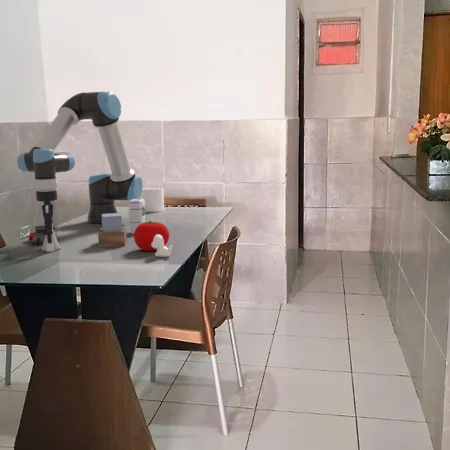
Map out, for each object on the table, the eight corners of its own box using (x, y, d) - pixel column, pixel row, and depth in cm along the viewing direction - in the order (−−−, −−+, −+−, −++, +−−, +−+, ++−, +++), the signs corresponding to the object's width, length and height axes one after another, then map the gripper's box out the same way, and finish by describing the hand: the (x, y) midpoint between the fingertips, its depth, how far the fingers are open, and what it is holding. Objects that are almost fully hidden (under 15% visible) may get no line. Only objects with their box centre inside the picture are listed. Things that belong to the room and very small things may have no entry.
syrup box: (142, 233, 241) (140, 200, 238) (129, 233, 242) (127, 200, 239) (147, 231, 246) (145, 198, 243) (134, 231, 247) (132, 198, 245)
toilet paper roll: (162, 212, 298) (161, 189, 296) (140, 212, 298) (139, 190, 296) (165, 208, 309) (164, 187, 307) (144, 209, 310) (143, 187, 307)
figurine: (153, 254, 202) (152, 233, 201) (175, 254, 201) (174, 232, 200) (150, 258, 197) (149, 236, 196) (172, 258, 196) (171, 236, 195)
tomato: (131, 248, 213) (129, 220, 211) (164, 244, 218) (163, 217, 216) (139, 255, 202) (137, 225, 200) (173, 250, 207) (172, 221, 205)
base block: (101, 242, 226) (100, 227, 225) (126, 241, 227) (125, 226, 226) (99, 247, 217) (97, 232, 215) (124, 246, 218) (124, 231, 217)
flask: (43, 247, 218) (41, 222, 216) (62, 247, 219) (60, 221, 217) (39, 252, 211) (37, 226, 209) (59, 251, 212) (56, 225, 210)
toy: (49, 251, 224) (55, 236, 238) (47, 236, 222) (54, 223, 236) (27, 252, 223) (34, 237, 237) (25, 237, 221) (32, 223, 235)
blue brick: (102, 228, 223) (101, 214, 222) (119, 227, 225) (119, 212, 224) (104, 232, 216) (103, 216, 215) (122, 230, 218) (121, 215, 217)
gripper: (37, 187, 219) (41, 244, 224) (34, 193, 200) (39, 255, 204) (57, 186, 221) (61, 242, 225) (55, 192, 202) (60, 253, 206)
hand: (50, 248), depth 215 cm, fingers open, 8 cm apart
